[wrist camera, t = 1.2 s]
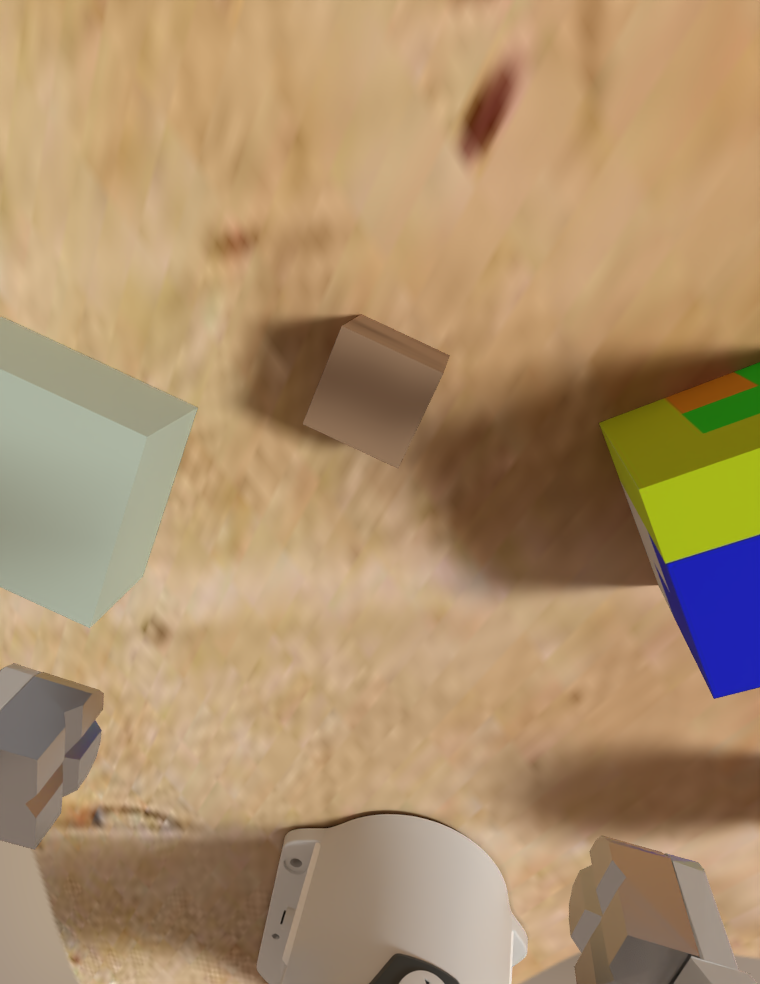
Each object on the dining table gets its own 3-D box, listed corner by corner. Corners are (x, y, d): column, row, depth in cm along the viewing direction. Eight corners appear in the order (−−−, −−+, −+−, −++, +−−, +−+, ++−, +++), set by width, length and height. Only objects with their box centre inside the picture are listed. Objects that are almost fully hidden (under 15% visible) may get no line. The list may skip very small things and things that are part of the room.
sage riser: (142, 576, 42) (89, 628, 37) (-33, 496, 42) (-112, 535, 36) (197, 407, 38) (147, 436, 32) (1, 316, 37) (-83, 330, 32)
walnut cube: (409, 439, 37) (398, 468, 32) (326, 400, 36) (302, 424, 32) (449, 355, 35) (443, 373, 30) (361, 314, 35) (341, 326, 30)
